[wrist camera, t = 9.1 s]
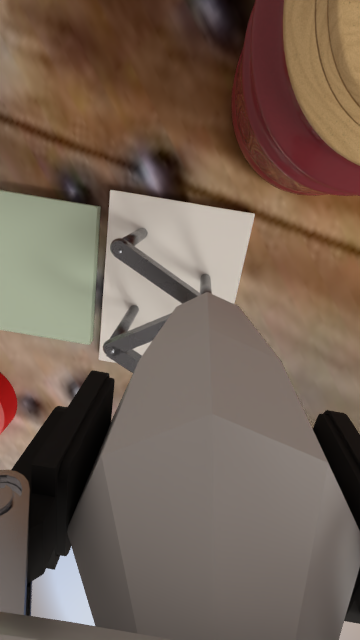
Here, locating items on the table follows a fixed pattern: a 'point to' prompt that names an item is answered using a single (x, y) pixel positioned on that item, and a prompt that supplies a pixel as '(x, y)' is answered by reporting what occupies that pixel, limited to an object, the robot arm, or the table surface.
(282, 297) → the table surface
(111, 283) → the wire board
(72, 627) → the robot arm
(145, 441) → the faceted bottle
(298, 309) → the table surface
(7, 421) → the decorative ornament
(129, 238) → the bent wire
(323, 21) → the canister
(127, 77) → the table surface
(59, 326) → the pale green flat panel
